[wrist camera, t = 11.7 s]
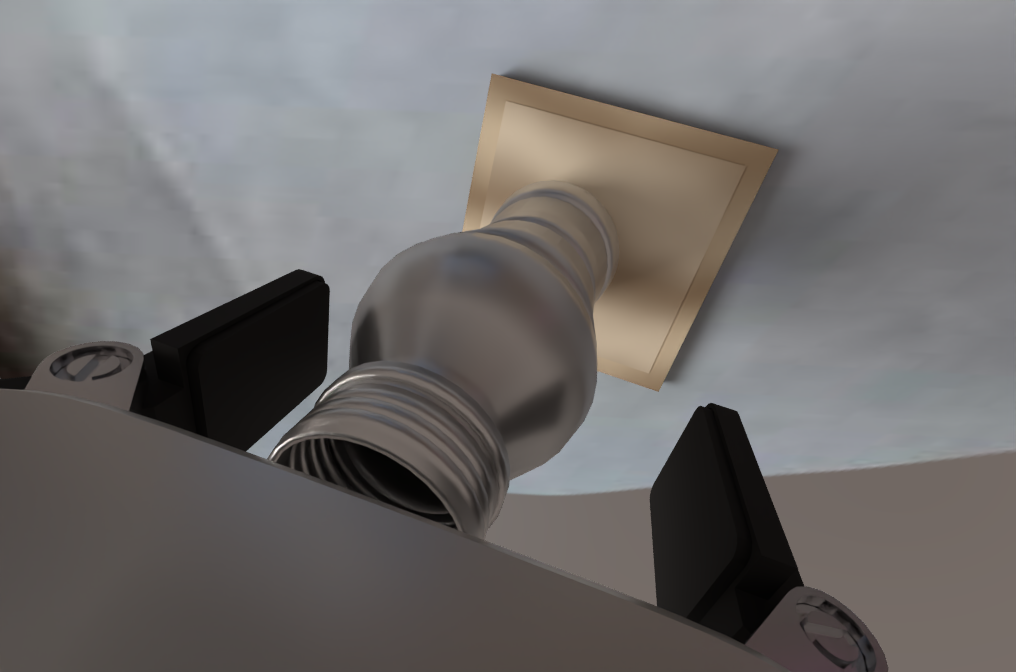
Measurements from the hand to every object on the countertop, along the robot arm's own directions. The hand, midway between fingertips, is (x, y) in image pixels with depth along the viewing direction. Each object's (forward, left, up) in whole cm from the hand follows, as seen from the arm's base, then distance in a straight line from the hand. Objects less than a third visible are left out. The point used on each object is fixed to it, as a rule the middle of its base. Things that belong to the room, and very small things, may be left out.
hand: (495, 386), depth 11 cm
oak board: (0, +1, -17) cm, 17 cm away
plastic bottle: (0, -1, -16) cm, 16 cm away
